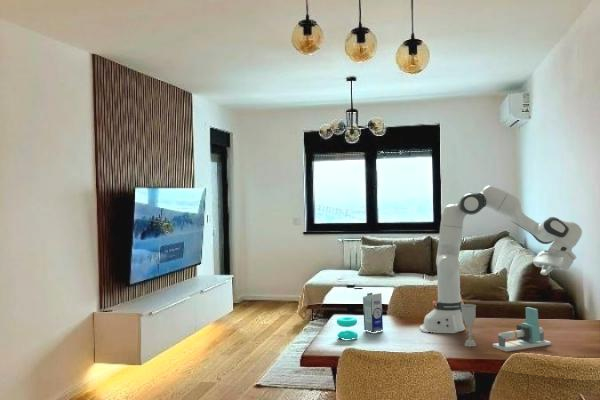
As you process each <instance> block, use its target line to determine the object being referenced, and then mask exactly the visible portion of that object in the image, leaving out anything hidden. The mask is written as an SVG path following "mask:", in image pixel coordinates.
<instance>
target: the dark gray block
mask: <svg viewBox="0 0 600 400" xmlns="http://www.w3.org/2000/svg"><path fill="white" fill-rule="evenodd" d="M521 329H524V330H525V337H517V338H516V339H517V340H523V341H526V342H529V341H530V338H529V327H526V326H523V325H521V324H516V330H521Z"/></svg>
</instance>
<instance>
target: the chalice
mask: <svg viewBox="0 0 600 400" xmlns="http://www.w3.org/2000/svg"><path fill="white" fill-rule="evenodd" d="M461 307H462V312H461V314H462V320H463V323H464V324H465V325H466V326H467V327H468V329H467V332H468V333H467V335H468V339H466V340H465V343H464V346H465V347H468V346H469V347H468V348H471V346H473V347H476V346H477V344H476V342H475V340H474V339H472V329H471V327H472V326H473V325H474V323H475V320H476V317H477V316H476V312H477V311H476V308H477V305H476V304H473V303H464V304H462V305H461Z"/></svg>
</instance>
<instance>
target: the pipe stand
mask: <svg viewBox="0 0 600 400" xmlns="http://www.w3.org/2000/svg"><path fill="white" fill-rule="evenodd" d="M539 330H540V341H537V342H531V341H529V342H526V341H523V340H520V339H517V337H524V336H525V330H524V329H523V330H517V329H516V330H511V331H510V330H509V331H504V332H498V335H497V336H498V342H497V343H496V342H495V343H492V348H495V349H498V350H501V351H504V352H513V351H519V350H526V349H531V348H537V347H544V346H549V345H550V346H551V345H552V342H551V341H549V340H546V339H545V334H544V333H545V332H544V331H545V330H544V328H543V327H541V326H539ZM529 336H530V329H529ZM509 339H517V340H509ZM506 340H509V341H506Z"/></svg>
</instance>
